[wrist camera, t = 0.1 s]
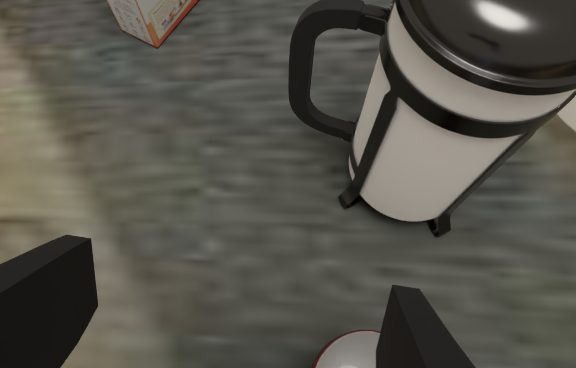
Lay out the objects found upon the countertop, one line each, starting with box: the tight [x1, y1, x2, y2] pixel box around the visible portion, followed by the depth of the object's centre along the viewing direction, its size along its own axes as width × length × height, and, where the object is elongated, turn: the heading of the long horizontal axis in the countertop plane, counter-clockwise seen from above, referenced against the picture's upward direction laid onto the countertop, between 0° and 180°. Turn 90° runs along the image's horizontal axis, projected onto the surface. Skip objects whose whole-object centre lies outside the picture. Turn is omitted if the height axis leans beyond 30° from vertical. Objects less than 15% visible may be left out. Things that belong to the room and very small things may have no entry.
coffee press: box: [289, 0, 576, 237], centre depth 33 cm, size 17×16×30 cm
